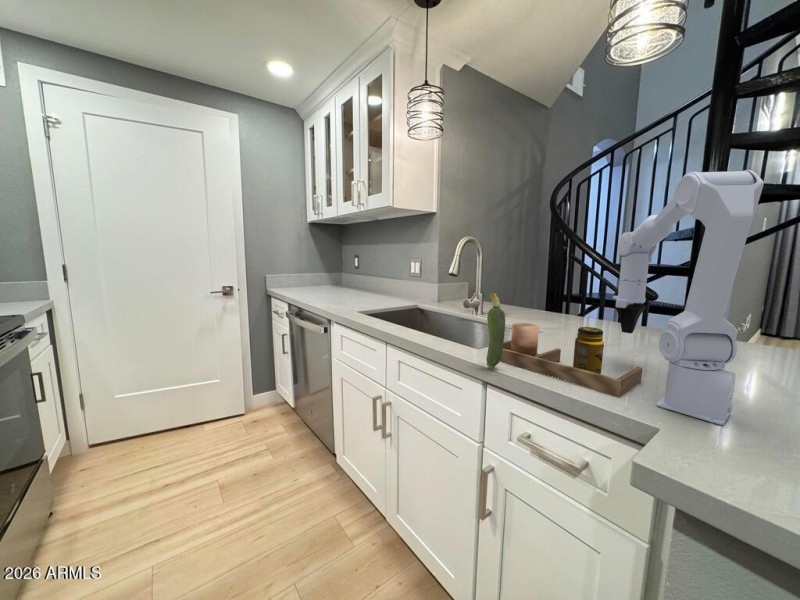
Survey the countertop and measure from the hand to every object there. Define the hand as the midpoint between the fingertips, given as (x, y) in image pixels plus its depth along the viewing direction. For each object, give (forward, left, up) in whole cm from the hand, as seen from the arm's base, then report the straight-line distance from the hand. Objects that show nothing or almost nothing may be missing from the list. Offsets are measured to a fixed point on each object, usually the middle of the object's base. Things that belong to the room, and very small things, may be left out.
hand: (627, 332), depth 85 cm
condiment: (+4, +16, -10) cm, 19 cm away
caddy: (+10, +16, -9) cm, 21 cm away
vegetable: (+20, +30, -10) cm, 37 cm away
